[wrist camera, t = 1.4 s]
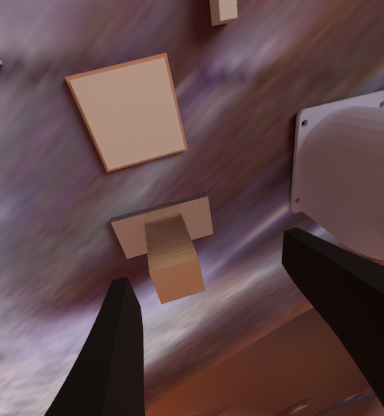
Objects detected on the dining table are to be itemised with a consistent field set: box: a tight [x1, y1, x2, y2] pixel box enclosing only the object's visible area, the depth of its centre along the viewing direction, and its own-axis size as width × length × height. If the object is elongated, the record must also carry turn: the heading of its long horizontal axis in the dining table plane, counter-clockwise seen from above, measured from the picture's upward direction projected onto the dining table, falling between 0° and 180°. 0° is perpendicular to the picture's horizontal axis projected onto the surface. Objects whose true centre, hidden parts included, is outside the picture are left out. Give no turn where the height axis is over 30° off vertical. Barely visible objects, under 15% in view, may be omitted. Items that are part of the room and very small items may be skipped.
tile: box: [65, 53, 188, 172], centre depth 15 cm, size 6×6×1 cm
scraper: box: [111, 193, 213, 304], centre depth 17 cm, size 4×8×7 cm, turn 100°
